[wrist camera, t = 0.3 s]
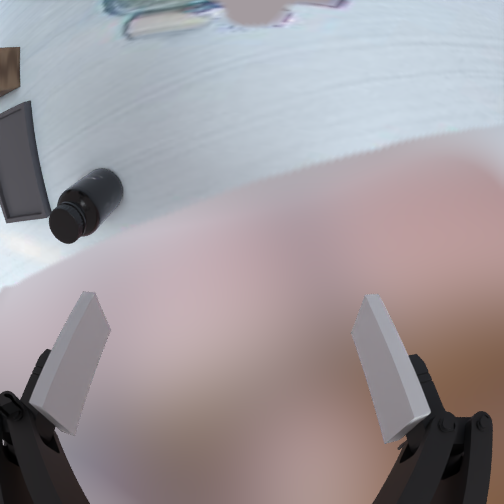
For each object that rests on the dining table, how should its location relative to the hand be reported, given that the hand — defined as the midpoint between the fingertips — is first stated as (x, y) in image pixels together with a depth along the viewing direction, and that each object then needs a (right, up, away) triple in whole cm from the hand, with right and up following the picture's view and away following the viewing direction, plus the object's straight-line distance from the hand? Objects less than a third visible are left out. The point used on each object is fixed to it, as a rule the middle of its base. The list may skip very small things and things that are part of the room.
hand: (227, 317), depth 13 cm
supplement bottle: (-21, +13, +25) cm, 35 cm away
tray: (-39, +18, +20) cm, 47 cm away
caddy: (-39, +32, +11) cm, 52 cm away
